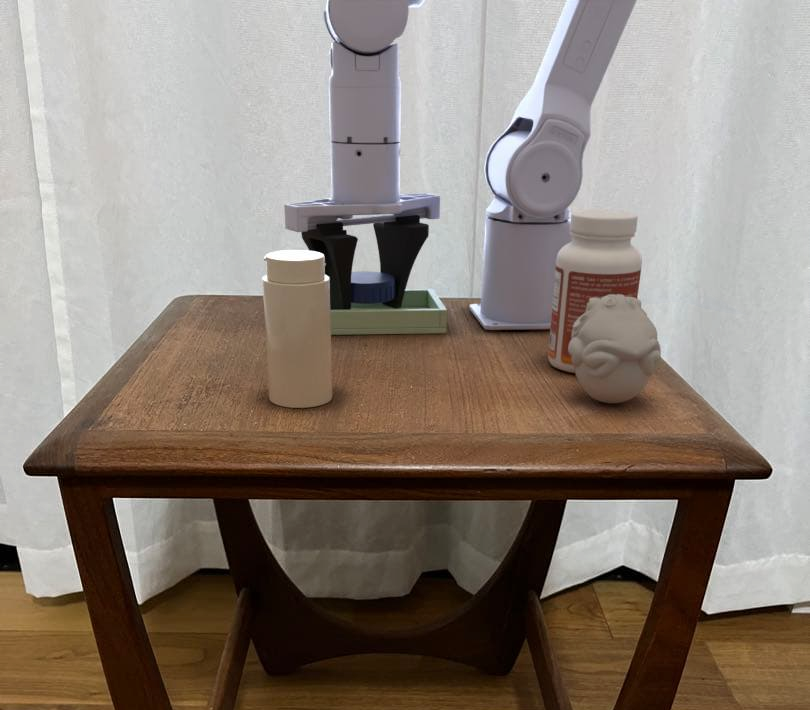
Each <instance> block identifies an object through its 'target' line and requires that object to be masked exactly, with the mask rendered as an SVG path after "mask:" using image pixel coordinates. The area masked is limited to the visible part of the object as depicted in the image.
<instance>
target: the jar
mask: <svg viewBox="0 0 810 710" xmlns="http://www.w3.org/2000/svg"><path fill="white" fill-rule="evenodd" d="M263 261H264V262H265V269H266V270H265V271H266V275H264V276H262V278H261V282H262V283H261V284H262V285H261V286H262V300H263V301H262V302H263V314H264V315H263V316H264V318H263V319H264V337H265V351H266V370H267V384H268V399H269V401H270V402H271V404H274V405H277V406H279V407H284V408H291V409H307V408H315V407H319V406H320V407H321V406H322V405H323V406H324V405H326V404H327V403H330V402H331V401H332V399H333V364H332V363H333V362H332V361H333V359H332V335H331V312H330V278H329V276H327V275H325V265H326V263H325V257H324V254H322V253H319V252H315V251H309V250H306V249H305V250H304V249H284V250H276V251H271V252H269V253H266V254H265V255H264V256H263Z"/></svg>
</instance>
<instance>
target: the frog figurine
mask: <svg viewBox="0 0 810 710" xmlns="http://www.w3.org/2000/svg"><path fill="white" fill-rule="evenodd" d="M587 305H588V306H587V307H586V312H585V313H584V314H583V315H581V316H580V317H579V318H578V319H577V320H576V322H575V323H574V325H573V330H572V336H571V339H572V340H571V341H570V343H569V346H568V351H569V354H570V355H571V356H572V357H571V361H572V363H573V366H574V370H575V373H574V374H575V376H576V378H577V380H578V383H579V385H580V386H581V388H582V389H583V391H584V392H585V393H586V394H587V395H588V396H589V397H591V398H592V399H594V400H596V401H599V402H602V403H605V404H620V403H621V404H622V403H625V402H627V401H629V400H631V399H633V398H634V397H636V396H637V395H639V394H640V393H641V392H642V391H643V390H644V389H645V387H646V386H647V384H648V382H649V380H650V378H651V377H652V376H653V375H654V373H656V372H655V371H656V369H655V365H657V364H658V363H660V362H661V359H662V358H661V357H662V351H661V345H660V342H659V339H658V330H657V328H656V326H655V324H654V323H653V321H652V320H651V319H650V318H649V316H648V314H647V312H646V311H645V310H644V309H643V308H642V301H641V300H640V299H639V298H637V299H636V298H634V297H625V296H624V295H621V294H617V295H613V294H609V295H607V296H604V297H602V298H601V299H599V298H595V297H593V298H590V299H589V303H587Z"/></svg>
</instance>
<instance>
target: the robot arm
mask: <svg viewBox="0 0 810 710" xmlns="http://www.w3.org/2000/svg"><path fill="white" fill-rule="evenodd" d="M425 1H426V0H326V5H325V10H324V11H323V20H324V24H325V28H326V31H327V33H328V35H329V37H330V38H331V40H332V41H331V43H330V48H329V52H328V57H329V58H328V63H329V67H330V69H331V73H330V76H329V77H328V113H329V114H328V115H329V118H328V119H329V146H330V148H329V151H330V152H329V153H330V197H327V198H320V199H315V200H308V201H300V202H293V203H284V205H283V209H284V228H285V230H288V231H292V232H296V233H301V238H302V240H303V242H304V244H305V246H306V247H307V249H308V251H315V252H319V253H322V254H324V257H325V263H326V265H325V275H327V276H329V278H330V310H351V274H352V272H353V264H354V258H355V252H356V249H357V244H358V242H359V239H358V237H357V236H356V235H351V234H348V231H347V229H344V227H349V226H360V225H361V226H362V225H370V224H372V226H373V227H372V228H373V230H374V235H375V239H376V244H377V250H378V257H379V268H380V269H379V270H380V271H379V272H381V273H386V274H390V275H392V276H394V283H395V298H394V299H392V300H390V301H387V302H382V304H383V305H386V306H389V307H392V308H395V309H397V308H401V305H402V301H403V297H404V293H405V289H407V286H408V282H409V279H410V275H411V272H412V269H413V267H414V265H415V262H416V259H417V257H418V255H419V253H420V251H421V250H422V247H423V246H424V244H425V243H426V241H427V239H428V238H429V233H430V225H429V224H428V223H424V222H421V220H423V219H427V220H438V219H440V216H441V215H440V213H441V211H440V210H441V195H438V194H435V193H434V194H433V193H427V192H425V193H402V194H401V111H402V110H401V107H402V79H401V77H400V76H399V65H400V64H399V56H400V54H399V53H400V51H399V49H400V43H398V42H396V43H394V42H395V40H396V39H398V38H400V37H402V35H403V34H404V32H405V31H406V27H407V25H408V20H409V9H410V8H420V7H421V6H422V5H423V4H424V2H425ZM637 2H638V0H566V1H565V4H564V6H563V9H562V11H561V13H560V16H559V18H558V21H557V23H556V26H555V29H554V31H553V34H552V36H551V39H550V41H549V44H548V46H547V49H546V51H545V54H544V56H543V59H542V61H541V64H540V66H539V69H538V71H537V74H536V77H535V79H534V81H533V84H532V86H531V87H530V89H529V90H528V91H527V93H526V94H525V96H524V97H523V99H521V101H520V103H519V104H518V106H517V107H516V109H515V112H514V114H513V117H512V119H511V121H510V123H509V124H508V127H507V128H506V129H505V130H504V131H503V132H502V133H501V134H500V135H499V136H498V137H497V138H496V139H494V141H493V142H492V144H491V145H490V147H489V149H488V151H487V153H486V155H485V160H484V169H483V170H484V177H485V183H486V185H487V187H488V189H489V190H490V192H491V193H492V194H493V195H494V197H493V198H492V201H491V203H490V205H488V207H487V208H486V209H485V215H486V216H485V222H484V223H485V225H484V239H483V241H484V243H483V257H482V276H481V277H482V278H481V292H480V293H481V294H480V303H471V304H469V310H470V312H471V313H472V314H473V316H474V317H475V318H476V320H477V321H478V322H479V323H480V325H481V326H482V328H483V329H484V330H487V331H517V330H518V331H519V330H520V331H521V330H522V331H523V330H528V331H529V330H550V328H551V316H552V305H553V293H554V281H555V270H556V260H557V255H558V253H559V251H560V250H561V248H562V247H563V246H565V245H566V244H568V243H570V242H571V241H572V235H571V234H570V229H569V227H570V220H571V214H572V209H570V208H569V207H570V206H571V205H572V203H573V202H574V201H575V199H576V198H577V197H578V194H579V192H580V189H581V186H582V182H583V174H584V173H583V169H584V168H583V160H584V154H585V150H586V149H587V148H586V147H587V146H588V142H589V140H590V138H591V135H592V106H593V103H594V101H595V98H596V96H597V93H598V92H599V89H600V87H601V85H602V83H603V80H604V78H605V75H606V74H607V70H608V69H609V66H610V64H611V61H612V59H613V57H614V55H615V52H616V49H617V48H618V45H619V42H620V40H621V38H622V35H623V33H624V32H625V29H626V26H627V25H628V21H629V19H630V17H631V14H632V12H633V10H634V7H635V5H636V3H637ZM354 216H358V217H354Z"/></svg>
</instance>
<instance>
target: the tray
mask: <svg viewBox="0 0 810 710" xmlns="http://www.w3.org/2000/svg"><path fill="white" fill-rule="evenodd" d="M330 312H331V336H347V335H348V336H349V335H350V336H352V335H354V336H355V335H356V336H357V335H416V334H417V335H418V334H420V335H422V334H423V335H424V334H427V335H428V334H429V335H430V334H447V323H448V309H447V308H446V306H445V305H444V303H443V302H442V301H441V299H440V297H439V296H438V295H437V292H436V291H435V289H433V288H406V289H405V293H404V297H403V301H402V305H401V308H397V309H395V308H392V307H389V306H386V305H383V304H382V303H373V304H360V303H351V310H330Z"/></svg>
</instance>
